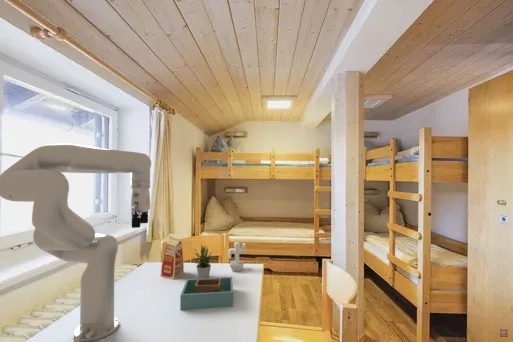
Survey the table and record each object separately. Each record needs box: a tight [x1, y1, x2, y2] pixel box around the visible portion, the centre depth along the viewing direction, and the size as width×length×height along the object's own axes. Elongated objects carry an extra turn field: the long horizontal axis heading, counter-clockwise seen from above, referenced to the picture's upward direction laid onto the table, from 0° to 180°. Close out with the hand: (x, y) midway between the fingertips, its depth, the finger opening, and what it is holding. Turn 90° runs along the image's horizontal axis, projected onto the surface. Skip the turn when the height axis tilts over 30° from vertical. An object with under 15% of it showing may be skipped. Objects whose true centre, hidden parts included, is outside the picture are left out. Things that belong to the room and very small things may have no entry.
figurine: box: [227, 241, 247, 272], centre depth 136 cm, size 7×9×15 cm
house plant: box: [190, 244, 215, 279], centre depth 126 cm, size 14×14×16 cm
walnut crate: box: [195, 278, 221, 293], centre depth 104 cm, size 7×10×6 cm, turn 95°
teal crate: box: [179, 276, 234, 311], centre depth 104 cm, size 15×20×6 cm
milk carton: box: [159, 235, 185, 280], centre depth 129 cm, size 9×9×20 cm
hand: (140, 225), depth 106 cm, fingers open, 9 cm apart
